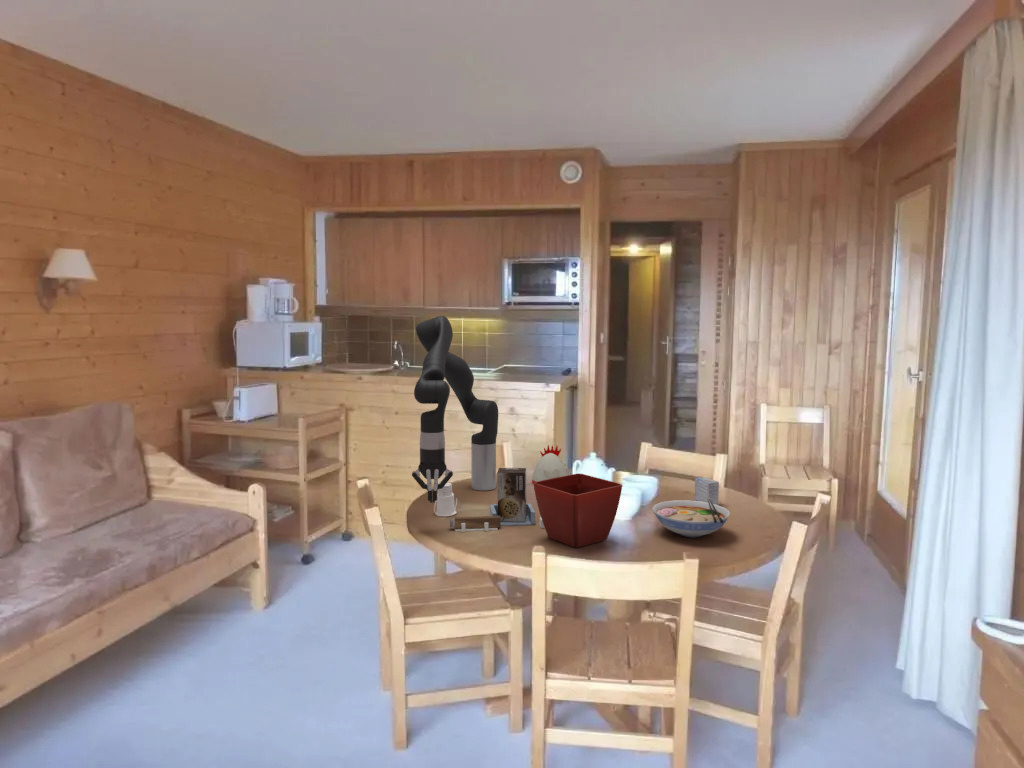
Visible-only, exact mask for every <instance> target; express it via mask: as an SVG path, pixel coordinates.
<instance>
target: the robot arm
mask: <svg viewBox="0 0 1024 768" xmlns="http://www.w3.org/2000/svg"><path fill="white" fill-rule="evenodd" d="M415 332H416V336H417V338H418V340H419V342H420V343H421V345H422V346H423V348H424V349H425V350H426V352H427V353H426V355H425V356H424V358H423V361H422V369H421V370H422V371H421V375H420V377H419V378H418V380H417V382H415V386H414V389H413V390H414V391H413V395H414V398H415V400H416V402H417V403H419V404H421V405H422V404H423V405H426V404H427V405H430V404H431V405H435V404H437V407H436V408H435V409H431V410H427V411H424V412H422V413H421V414H420V436H419V464H418V468H417V469H416V470H415V471H411V477H412V478H413V479H414V480H415V481H416V483H417V484H418V485H419V486H420V487H421V488H422V489H423V490H426V491H427V501H428V502H429V503H433V504H435V501H437V494H438V489H442V488H443V487H444V486H445V484H446V483H449V481H450V480H451V478H452V477H453V476H454V472H453V470H449V469H448V468H447V464H446V441H445V440H446V438H445V412H446V407H447V404H448V401H449V398H450V393H451V390H452V392H453V393H454V394H455V396H456V398H457V399H458V401H459V404H460V405H461V408H462V410H463V412H464V414H465V417H466V418H467V420H468V421H469V422H470V423H471V424H475V425H482V428H481V429H482V430H481V431H480V432H476V433H474V434H472V435H471V436H470V437H471V439H470V440H471V441H470V444H471V448H470V450H471V453H470V454H471V456H470V457H471V479H470V480H471V489H472V490H475V491H492V490H495V489H496V488H497V436H498V431H499V430H498V428H499V427H498V426H499V407H498V403H496V402H495V401H494V400H491V399H490V400H488V399H479V398H477V396H475V394H474V392H473V391H472V390H473V386H474V382H475V379H474V378H475V377H474V373H473V371H472V370H471V368H470V366H469V365H468V362H467V361H466V360H465V359H463V358H461V357H460V356H458V355H457V354H454V353H452V352H449V351H450V347H451V344H452V341H453V337H454V335H453V334H454V333H453V327H452V324H451V322H450V320H449V319H448V318H447V316H445V315H438V316H435V317H432V318H429V319H426V320H423V321H421V322H419V323H418V324H417V325H416V328H415ZM445 380H446V381H445ZM421 474H422V476H423V477H424V478H425V480H426V483H425V481H424V480H423V479H422V478H421V477H420V476H421ZM443 475H444V477H443V479H441V481H440V483H439V479H440V478H441V477H442V476H443ZM432 480H433V484H432ZM432 485H433V486H432Z"/></svg>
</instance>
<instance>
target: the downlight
mask: <svg viewBox="0 0 1024 768" xmlns="http://www.w3.org/2000/svg"><path fill="white" fill-rule="evenodd" d="M455 501H456V502H455ZM433 505H434V506H433V512H434V513H435V516H438V517H451V516H454V515H456V514H457V510H456V509H457V505H458V497H455V493H454V492H453V486H452V483H451V482H447V483H446V484H445V486H444V487H443V488H442V489H438V490H437V501H435V503H434V504H433Z"/></svg>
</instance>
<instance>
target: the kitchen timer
mask: <svg viewBox="0 0 1024 768" xmlns="http://www.w3.org/2000/svg"><path fill="white" fill-rule="evenodd" d="M550 447H551V448H550ZM558 449H559V450H558ZM543 451H544V453H543V452H542V451H541V450H540V453H539V454H540V455H541V457H540V458H539V459H538V460H537V462H536V463H535V465H534V468H533V472H532V476H531V483H532V485H533V486H534V484H533V483H534V482H537V481H542V480H547V479H552V478H557V477H562V476H567V475H568V472H567V470H566V469H567V468H566V463H564V462H563V460H562V459H561V457H560V456H559V455H560V453H561V451H562V448H559V447H558V445H556V446H555V449H554V447H553V444H551V446H550V445H549V444H548V445H547V448H545V447H543Z"/></svg>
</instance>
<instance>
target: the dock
mask: <svg viewBox="0 0 1024 768" xmlns="http://www.w3.org/2000/svg"><path fill="white" fill-rule="evenodd" d="M526 514H527V518H526V522H501V527H504V526H505V527H507V526H535V525H536V511H535V508H534V507H533V505H532V503H531V502H529V503H527V502H526ZM489 516H498V503H497V504H496V503H493V504H489Z"/></svg>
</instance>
